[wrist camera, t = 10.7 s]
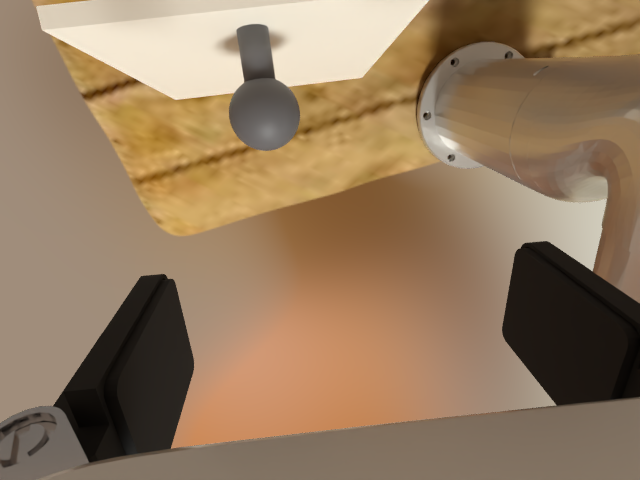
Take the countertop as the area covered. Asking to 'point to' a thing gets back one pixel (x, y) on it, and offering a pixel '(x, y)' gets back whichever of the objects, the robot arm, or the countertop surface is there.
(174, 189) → the countertop surface
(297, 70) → the flap
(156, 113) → the countertop surface
